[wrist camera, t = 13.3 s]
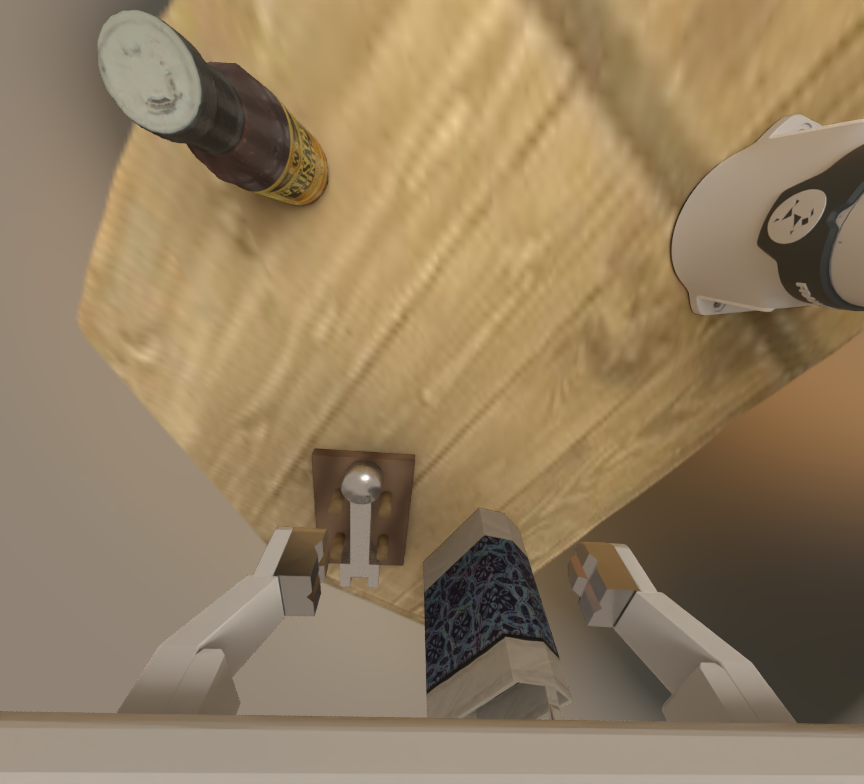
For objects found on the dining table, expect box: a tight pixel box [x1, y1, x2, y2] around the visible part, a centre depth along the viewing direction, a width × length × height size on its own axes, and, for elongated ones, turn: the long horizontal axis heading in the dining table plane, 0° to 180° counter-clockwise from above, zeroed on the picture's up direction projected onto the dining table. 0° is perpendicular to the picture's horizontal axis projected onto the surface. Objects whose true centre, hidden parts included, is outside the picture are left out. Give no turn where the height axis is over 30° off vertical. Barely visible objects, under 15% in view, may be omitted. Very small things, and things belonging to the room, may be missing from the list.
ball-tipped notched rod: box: [340, 460, 383, 587], centre depth 49 cm, size 23×6×3 cm, turn 174°
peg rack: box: [312, 449, 415, 565], centre depth 49 cm, size 14×22×5 cm, turn 174°
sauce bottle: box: [98, 10, 328, 205], centre depth 23 cm, size 7×6×20 cm
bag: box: [423, 508, 573, 720], centre depth 39 cm, size 18×9×40 cm, turn 144°
